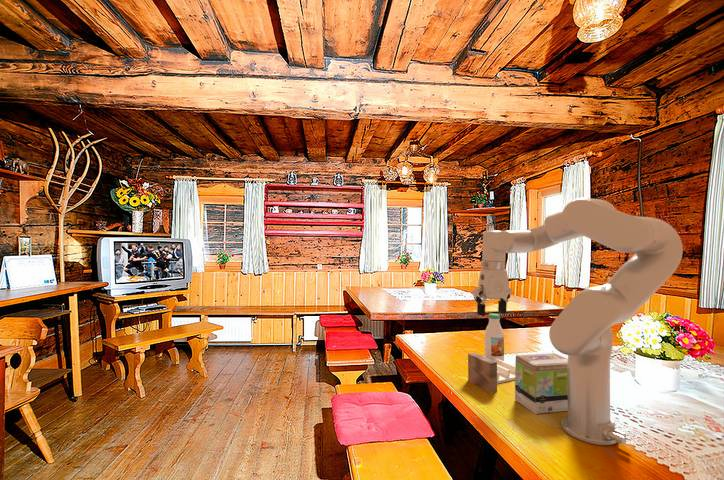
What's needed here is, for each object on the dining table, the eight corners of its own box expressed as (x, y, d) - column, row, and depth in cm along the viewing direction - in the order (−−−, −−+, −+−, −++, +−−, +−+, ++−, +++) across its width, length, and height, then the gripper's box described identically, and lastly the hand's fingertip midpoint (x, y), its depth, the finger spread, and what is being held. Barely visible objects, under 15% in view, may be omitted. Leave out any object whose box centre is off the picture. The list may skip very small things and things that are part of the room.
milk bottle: (483, 361, 143) (483, 315, 143) (486, 356, 150) (486, 311, 150) (503, 364, 139) (502, 316, 139) (504, 358, 146) (504, 313, 146)
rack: (524, 377, 125) (524, 368, 125) (496, 383, 120) (496, 374, 120) (496, 365, 138) (496, 356, 138) (470, 370, 133) (470, 361, 133)
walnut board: (497, 391, 114) (496, 362, 114) (490, 392, 113) (490, 363, 113) (474, 379, 124) (474, 352, 124) (468, 380, 123) (468, 353, 123)
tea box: (536, 415, 98) (535, 365, 98) (514, 400, 107) (513, 354, 108) (579, 410, 101) (579, 362, 101) (554, 395, 110) (553, 351, 111)
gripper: (481, 267, 109) (480, 318, 110) (520, 266, 116) (518, 314, 117) (466, 265, 116) (465, 313, 117) (503, 264, 123) (502, 309, 124)
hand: (491, 313), depth 117 cm, fingers open, 9 cm apart
